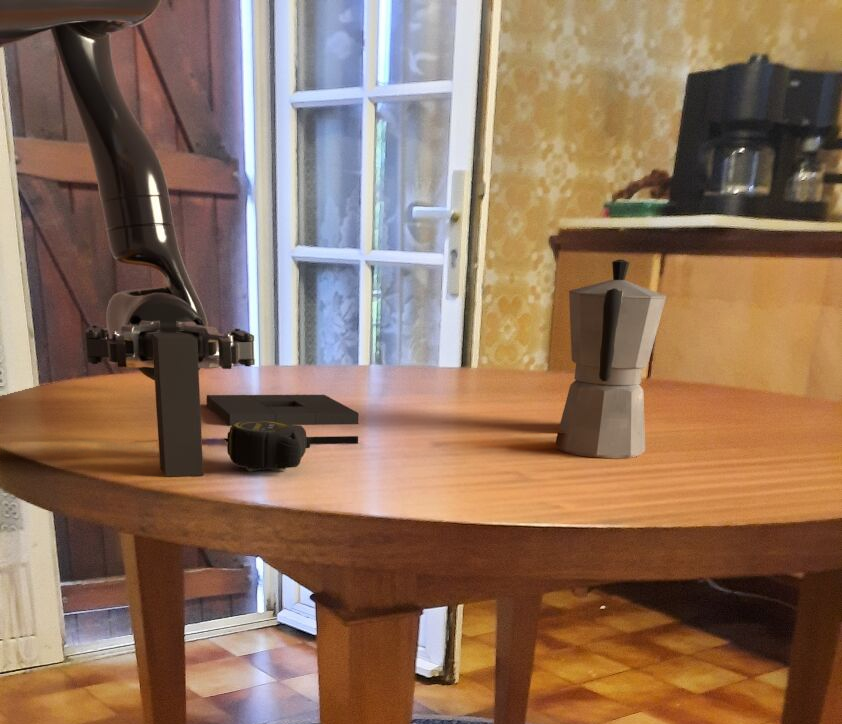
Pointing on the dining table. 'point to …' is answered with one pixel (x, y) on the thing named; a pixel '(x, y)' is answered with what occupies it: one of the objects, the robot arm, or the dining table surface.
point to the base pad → (286, 412)
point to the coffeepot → (609, 367)
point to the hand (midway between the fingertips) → (175, 354)
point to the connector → (178, 404)
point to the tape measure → (266, 445)
